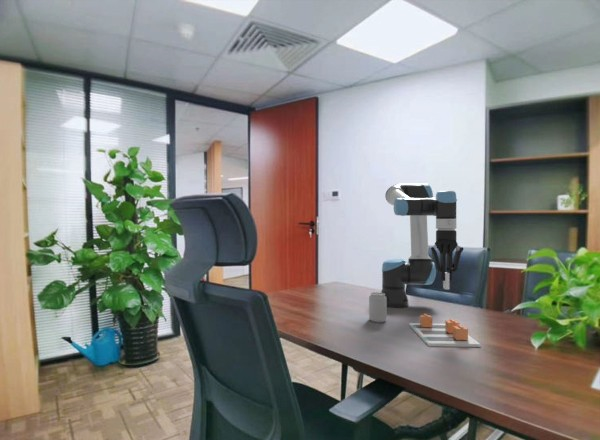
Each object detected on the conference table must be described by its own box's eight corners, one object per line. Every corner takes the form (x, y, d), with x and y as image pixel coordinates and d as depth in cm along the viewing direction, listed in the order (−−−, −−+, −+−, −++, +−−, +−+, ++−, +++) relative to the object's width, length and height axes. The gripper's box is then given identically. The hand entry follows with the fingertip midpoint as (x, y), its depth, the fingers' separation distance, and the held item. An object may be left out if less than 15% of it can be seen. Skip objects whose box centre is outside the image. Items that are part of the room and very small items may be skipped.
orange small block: (419, 324, 138) (419, 313, 138) (429, 324, 138) (429, 313, 138) (422, 327, 135) (422, 315, 135) (432, 327, 135) (432, 315, 135)
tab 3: (452, 336, 124) (452, 324, 124) (463, 337, 123) (463, 324, 123) (456, 339, 120) (456, 327, 120) (467, 340, 120) (467, 327, 120)
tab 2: (445, 330, 131) (445, 318, 131) (455, 330, 130) (455, 318, 130) (448, 333, 127) (448, 321, 127) (459, 333, 127) (459, 321, 127)
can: (367, 321, 146) (367, 294, 146) (371, 317, 153) (371, 290, 153) (384, 324, 143) (384, 296, 143) (388, 319, 149) (388, 292, 149)
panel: (409, 325, 141) (409, 322, 141) (453, 326, 140) (453, 323, 140) (428, 346, 118) (428, 342, 118) (480, 346, 117) (480, 343, 117)
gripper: (432, 229, 131) (432, 290, 130) (466, 229, 130) (467, 290, 130) (426, 229, 138) (426, 286, 138) (458, 229, 137) (459, 287, 137)
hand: (446, 288), depth 134 cm, fingers closed
